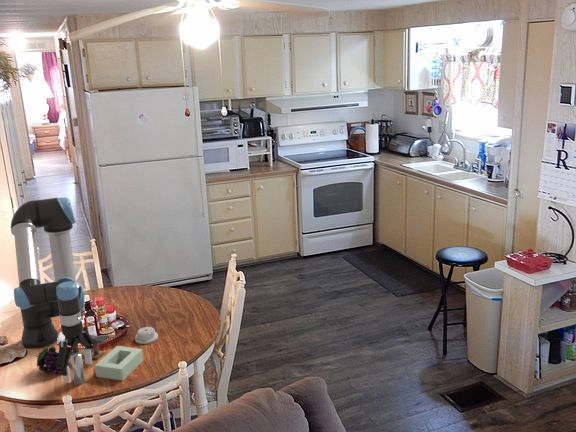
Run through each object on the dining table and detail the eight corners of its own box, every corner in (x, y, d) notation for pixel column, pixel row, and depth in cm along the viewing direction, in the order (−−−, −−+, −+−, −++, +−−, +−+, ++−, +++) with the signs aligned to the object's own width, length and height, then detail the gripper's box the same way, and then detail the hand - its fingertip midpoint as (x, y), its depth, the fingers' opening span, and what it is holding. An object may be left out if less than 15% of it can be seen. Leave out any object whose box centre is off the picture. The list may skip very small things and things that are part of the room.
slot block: (96, 376, 222) (94, 365, 221) (118, 356, 237) (117, 345, 236) (123, 380, 219) (121, 369, 218) (143, 359, 234) (142, 349, 233)
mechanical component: (131, 343, 248) (152, 345, 246) (130, 334, 247) (151, 336, 245) (141, 333, 258) (161, 334, 256) (140, 324, 256) (161, 325, 254)
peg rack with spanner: (66, 355, 239) (64, 336, 236) (74, 349, 243) (71, 331, 241) (104, 360, 234) (102, 341, 232) (111, 354, 239) (108, 335, 236)
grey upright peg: (72, 384, 217) (68, 356, 214) (78, 378, 221) (74, 351, 218) (81, 385, 216) (77, 357, 213) (87, 380, 220) (83, 352, 217)
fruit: (61, 383, 224) (26, 372, 225) (75, 365, 233) (41, 355, 234) (61, 364, 219) (26, 353, 220) (75, 347, 228) (41, 336, 230)
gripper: (58, 338, 199) (66, 391, 205) (99, 309, 222) (105, 357, 228) (40, 336, 201) (48, 388, 207) (82, 308, 224) (89, 355, 230)
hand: (78, 372), depth 217 cm, fingers open, 13 cm apart
